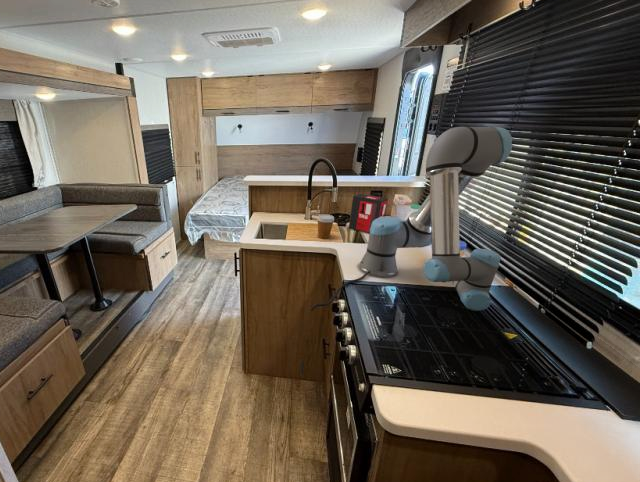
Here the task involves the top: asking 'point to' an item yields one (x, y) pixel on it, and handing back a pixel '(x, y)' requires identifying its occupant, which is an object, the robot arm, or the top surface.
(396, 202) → the coffeecake box
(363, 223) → the cleaning product box
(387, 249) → the robot arm
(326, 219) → the disposable coffee cup
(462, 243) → the jar lid
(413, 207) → the milk bottle
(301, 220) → the top surface
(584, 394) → the top surface
